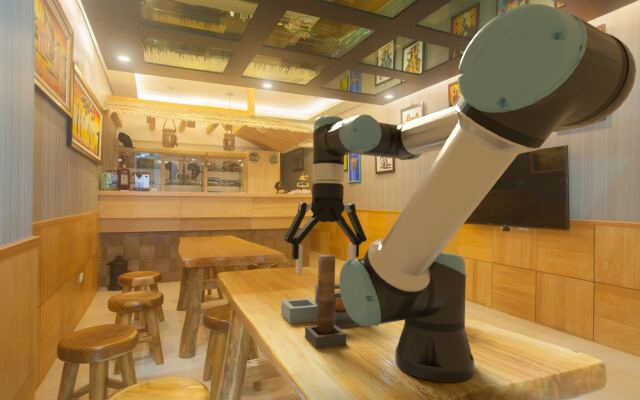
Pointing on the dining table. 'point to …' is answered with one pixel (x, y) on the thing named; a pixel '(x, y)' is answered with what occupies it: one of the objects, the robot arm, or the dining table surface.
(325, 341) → the stand
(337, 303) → the breaker button
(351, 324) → the guard frame
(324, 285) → the bar
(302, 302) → the grey square holder
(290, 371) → the dining table surface
